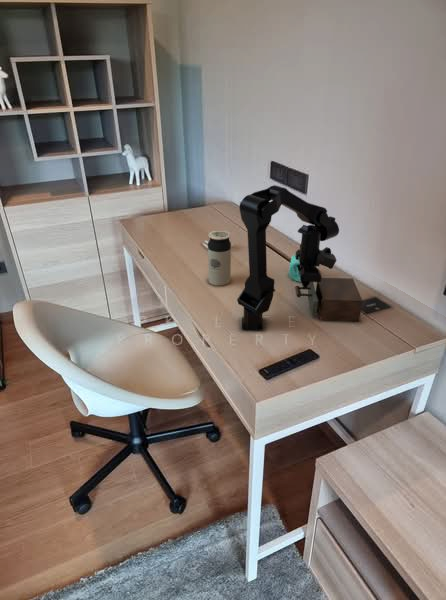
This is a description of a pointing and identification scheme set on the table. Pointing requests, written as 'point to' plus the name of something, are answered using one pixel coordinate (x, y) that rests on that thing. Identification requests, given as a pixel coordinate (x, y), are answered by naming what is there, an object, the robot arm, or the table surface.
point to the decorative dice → (294, 269)
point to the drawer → (312, 297)
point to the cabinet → (340, 300)
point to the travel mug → (219, 258)
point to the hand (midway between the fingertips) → (305, 288)
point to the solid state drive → (373, 305)
